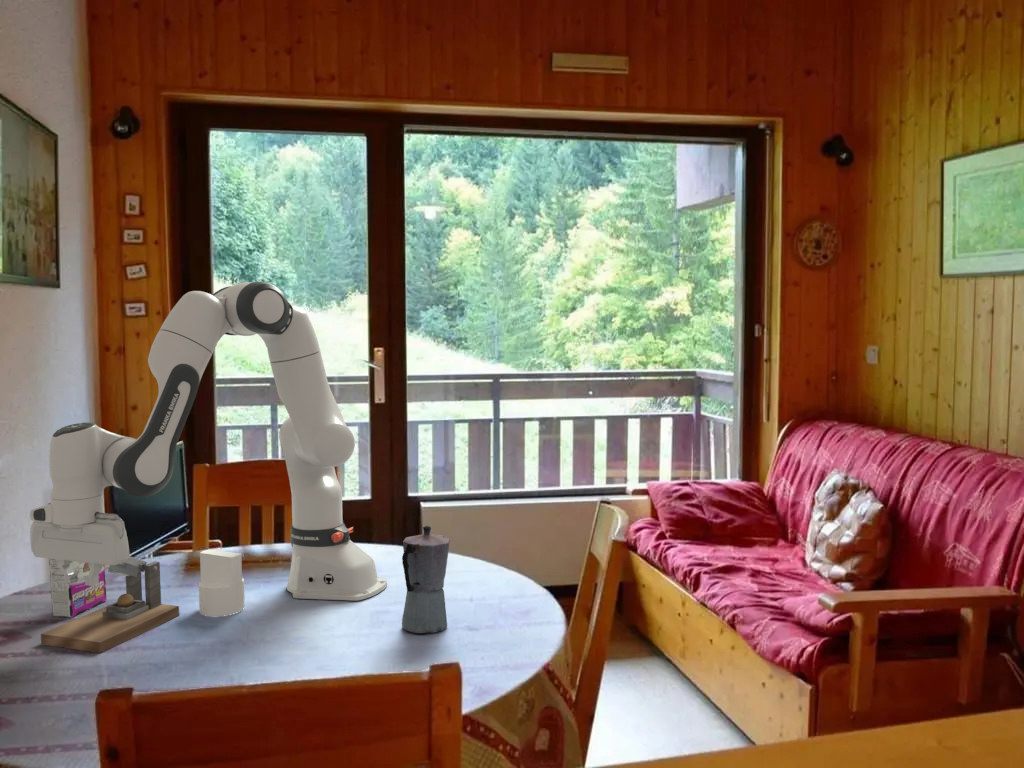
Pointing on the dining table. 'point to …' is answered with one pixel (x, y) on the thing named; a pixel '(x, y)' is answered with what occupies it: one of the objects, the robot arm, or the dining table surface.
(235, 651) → the dining table surface
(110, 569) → the lever
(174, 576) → the dining table surface
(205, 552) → the white stepped block
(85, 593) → the candy bar box
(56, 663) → the dining table surface
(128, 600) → the nut
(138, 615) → the nutcracker bench
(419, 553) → the moka pot
